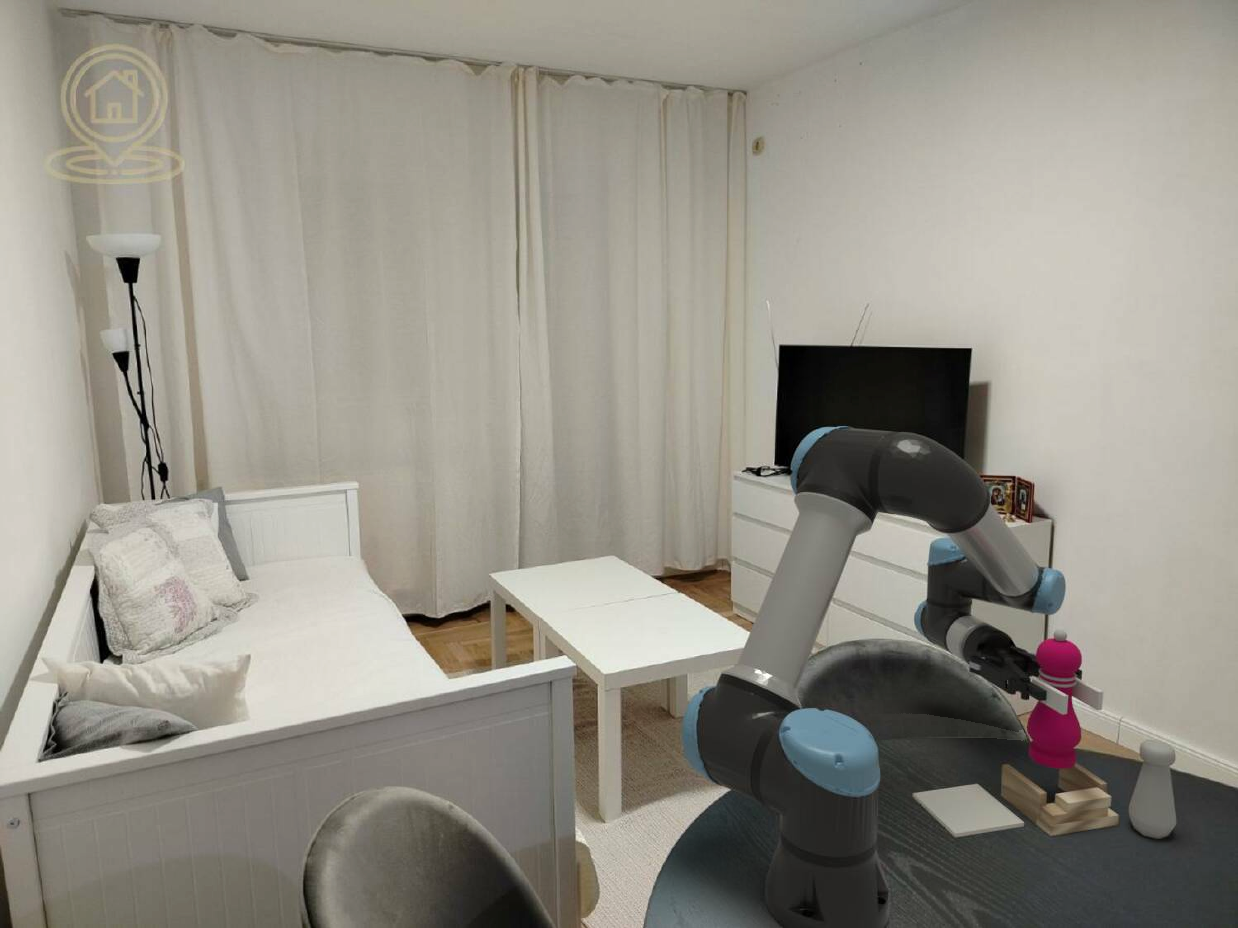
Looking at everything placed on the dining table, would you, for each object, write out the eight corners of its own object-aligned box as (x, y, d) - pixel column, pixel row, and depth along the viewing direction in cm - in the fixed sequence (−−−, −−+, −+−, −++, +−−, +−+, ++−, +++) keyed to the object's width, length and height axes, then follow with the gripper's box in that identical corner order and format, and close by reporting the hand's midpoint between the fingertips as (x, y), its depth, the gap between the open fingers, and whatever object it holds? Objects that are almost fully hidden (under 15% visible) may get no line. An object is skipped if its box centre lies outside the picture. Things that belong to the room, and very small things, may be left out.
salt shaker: (1139, 814, 128) (1146, 730, 126) (1182, 832, 124) (1190, 745, 122) (1119, 827, 125) (1126, 742, 123) (1162, 847, 120) (1170, 758, 118)
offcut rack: (1050, 835, 123) (1052, 802, 123) (1000, 795, 134) (1002, 764, 133) (1118, 824, 126) (1120, 792, 125) (1063, 785, 136) (1065, 755, 136)
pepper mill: (1067, 748, 134) (1076, 621, 131) (1087, 771, 127) (1097, 638, 124) (1018, 746, 135) (1025, 620, 132) (1035, 769, 128) (1043, 637, 125)
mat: (954, 837, 124) (955, 833, 123) (912, 796, 134) (912, 793, 134) (1024, 826, 126) (1024, 822, 126) (977, 787, 137) (977, 783, 136)
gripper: (1027, 662, 149) (1135, 721, 127) (931, 672, 145) (1025, 735, 123) (1030, 619, 148) (1139, 671, 126) (933, 628, 144) (1028, 683, 122)
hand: (1082, 702), depth 124 cm, fingers closed on pepper mill, 5 cm apart
